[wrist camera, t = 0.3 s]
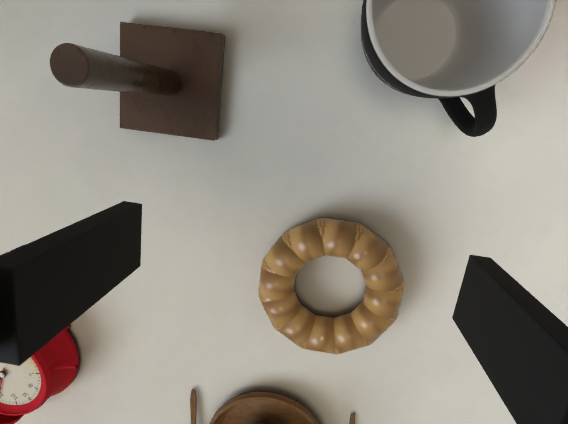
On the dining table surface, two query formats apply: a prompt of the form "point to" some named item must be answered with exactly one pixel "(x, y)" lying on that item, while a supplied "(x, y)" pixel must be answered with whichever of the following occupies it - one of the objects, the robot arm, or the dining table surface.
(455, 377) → the dining table surface
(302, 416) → the place setting
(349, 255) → the segmented ring
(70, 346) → the alarm clock
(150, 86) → the peg
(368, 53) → the mug
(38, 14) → the dining table surface
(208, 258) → the dining table surface
